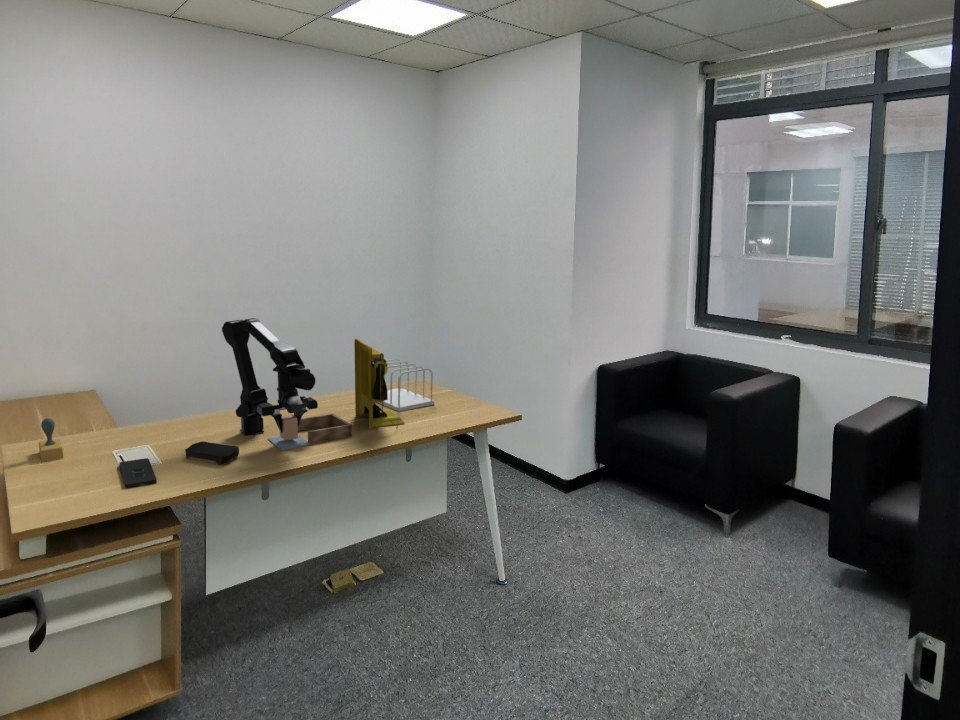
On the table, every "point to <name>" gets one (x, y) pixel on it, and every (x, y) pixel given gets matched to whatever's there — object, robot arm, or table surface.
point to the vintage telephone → (372, 386)
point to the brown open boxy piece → (335, 432)
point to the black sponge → (212, 452)
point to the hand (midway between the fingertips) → (288, 431)
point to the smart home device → (137, 473)
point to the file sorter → (402, 397)
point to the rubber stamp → (50, 443)
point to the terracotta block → (289, 427)
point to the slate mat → (288, 442)
